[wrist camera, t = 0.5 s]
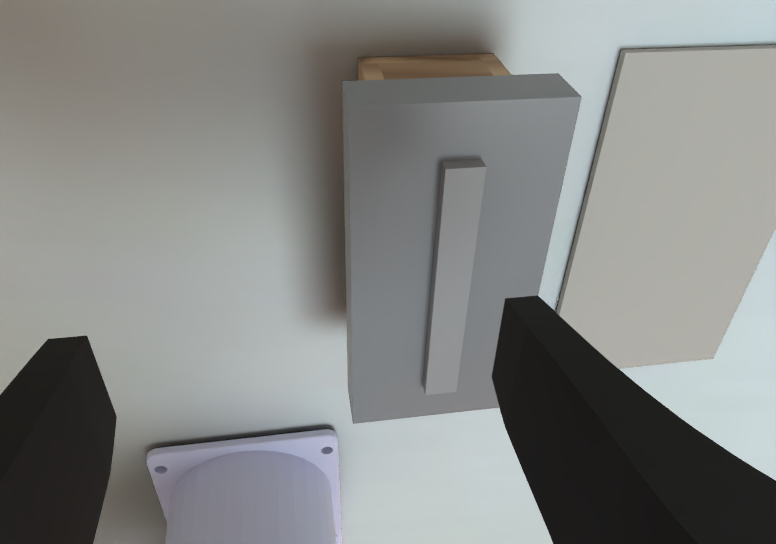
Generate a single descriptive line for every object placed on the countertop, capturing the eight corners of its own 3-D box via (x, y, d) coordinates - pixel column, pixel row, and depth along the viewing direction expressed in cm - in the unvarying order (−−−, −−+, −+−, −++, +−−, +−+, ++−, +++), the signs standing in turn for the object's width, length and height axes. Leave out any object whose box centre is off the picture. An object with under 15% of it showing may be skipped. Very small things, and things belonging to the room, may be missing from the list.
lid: (495, 361, 23) (517, 415, 21) (346, 376, 23) (354, 433, 21) (549, 65, 17) (588, 104, 15) (339, 71, 16) (350, 113, 14)
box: (461, 310, 25) (482, 365, 23) (358, 319, 24) (369, 377, 22) (493, 53, 19) (526, 93, 16) (357, 57, 18) (372, 99, 16)
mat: (709, 353, 29) (713, 358, 29) (541, 371, 28) (543, 376, 28) (855, 42, 20) (862, 45, 20) (621, 49, 19) (625, 52, 19)
